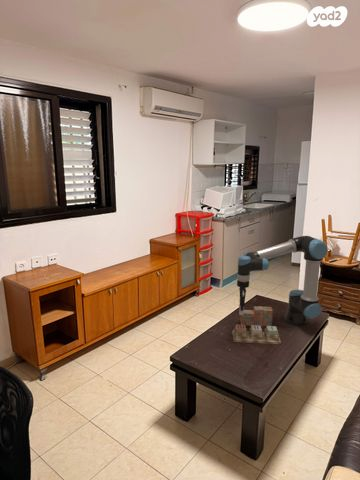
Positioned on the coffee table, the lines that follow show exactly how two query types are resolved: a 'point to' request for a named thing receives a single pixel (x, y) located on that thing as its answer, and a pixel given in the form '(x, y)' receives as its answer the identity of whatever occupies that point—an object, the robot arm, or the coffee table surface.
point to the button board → (255, 337)
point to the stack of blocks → (257, 316)
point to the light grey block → (271, 330)
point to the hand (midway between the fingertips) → (241, 314)
